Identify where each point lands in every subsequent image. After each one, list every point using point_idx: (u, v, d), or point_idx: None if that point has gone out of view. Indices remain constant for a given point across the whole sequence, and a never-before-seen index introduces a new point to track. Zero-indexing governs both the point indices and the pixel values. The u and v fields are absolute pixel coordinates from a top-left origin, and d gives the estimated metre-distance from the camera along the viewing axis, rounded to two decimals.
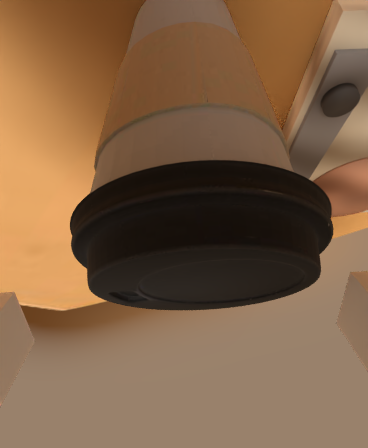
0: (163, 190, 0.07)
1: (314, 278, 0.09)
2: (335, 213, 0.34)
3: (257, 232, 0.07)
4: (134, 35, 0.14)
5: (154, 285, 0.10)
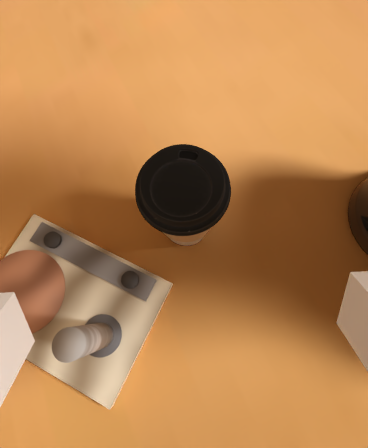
0: (229, 196, 0.27)
1: (173, 219, 0.25)
2: None
3: (213, 210, 0.26)
4: None
5: (193, 168, 0.27)
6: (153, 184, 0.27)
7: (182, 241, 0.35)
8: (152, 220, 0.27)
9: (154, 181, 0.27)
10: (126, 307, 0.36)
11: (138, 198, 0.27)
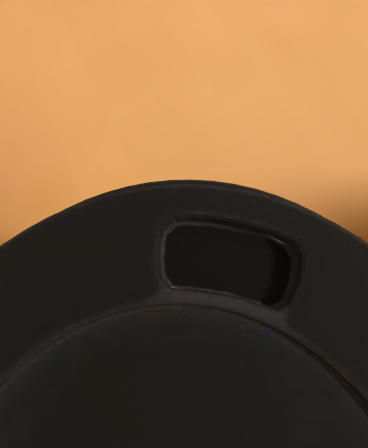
0: None
1: None
2: None
3: None
4: None
5: (268, 375, 0.04)
6: None
7: None
8: None
9: None
10: None
11: None
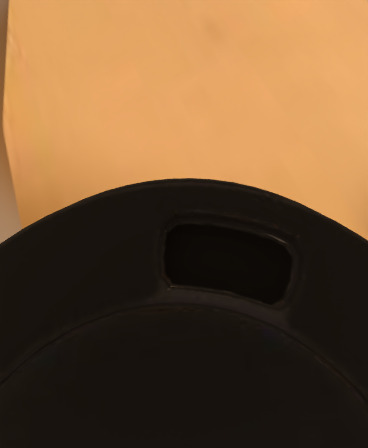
0: None
1: None
2: None
3: None
4: None
5: (268, 375, 0.03)
6: None
7: None
8: None
9: None
10: None
11: None
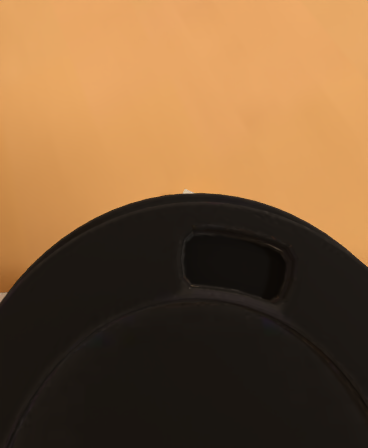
0: None
1: None
2: None
3: None
4: None
5: (267, 354, 0.05)
6: None
7: None
8: None
9: None
10: None
11: None
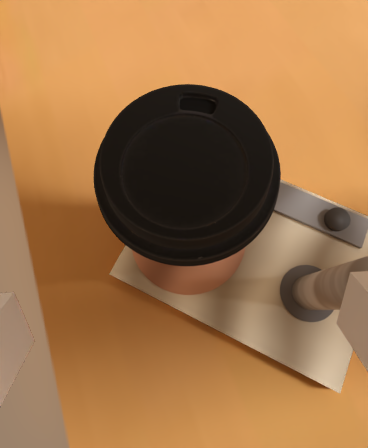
0: (279, 187, 0.14)
1: (168, 234, 0.12)
2: None
3: (252, 215, 0.12)
4: None
5: (207, 129, 0.13)
6: (127, 161, 0.13)
7: None
8: (125, 235, 0.13)
9: (129, 155, 0.13)
10: (334, 255, 0.27)
11: (98, 191, 0.14)
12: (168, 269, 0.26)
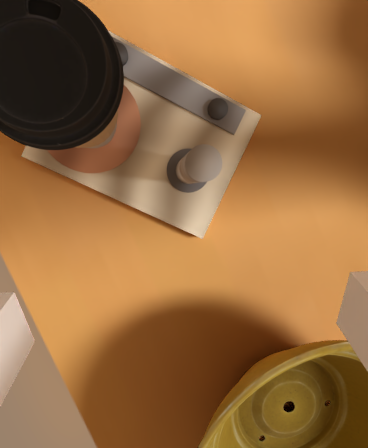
0: (119, 89, 0.18)
1: (27, 127, 0.17)
2: None
3: (92, 113, 0.17)
4: None
5: (54, 36, 0.16)
6: None
7: (76, 147, 0.26)
8: None
9: None
10: (213, 140, 0.33)
11: None
12: (73, 152, 0.31)
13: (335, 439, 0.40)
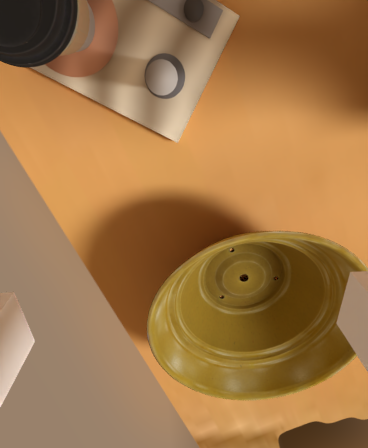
0: (73, 9, 0.21)
1: (0, 50, 0.21)
2: None
3: (51, 36, 0.21)
4: (86, 2, 0.29)
5: None
6: None
7: None
8: None
9: None
10: (189, 45, 0.34)
11: None
12: None
13: (276, 302, 0.53)
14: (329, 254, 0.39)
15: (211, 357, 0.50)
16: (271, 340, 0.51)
